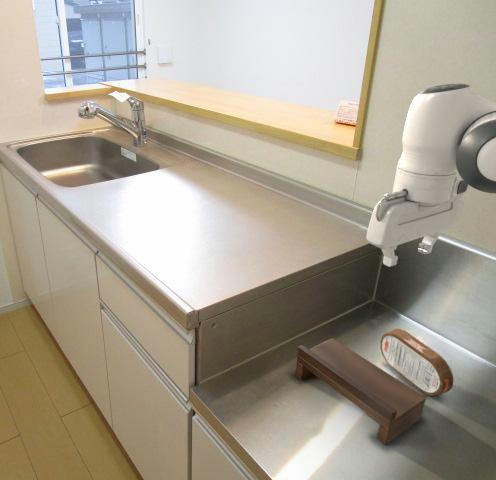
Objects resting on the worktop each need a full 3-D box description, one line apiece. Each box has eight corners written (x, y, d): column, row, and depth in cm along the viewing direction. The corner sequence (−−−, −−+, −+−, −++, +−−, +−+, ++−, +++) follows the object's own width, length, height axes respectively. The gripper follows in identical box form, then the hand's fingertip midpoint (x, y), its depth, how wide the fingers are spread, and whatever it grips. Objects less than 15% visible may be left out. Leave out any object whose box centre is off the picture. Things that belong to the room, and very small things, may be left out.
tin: (449, 402, 82) (460, 365, 79) (436, 407, 81) (447, 370, 78) (386, 353, 95) (393, 320, 92) (374, 357, 94) (381, 323, 91)
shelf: (329, 357, 94) (333, 329, 91) (420, 419, 79) (429, 388, 76) (294, 375, 89) (298, 346, 86) (384, 445, 74) (392, 413, 71)
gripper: (397, 201, 69) (382, 280, 75) (477, 180, 78) (458, 252, 83) (364, 190, 74) (352, 265, 80) (442, 172, 83) (426, 240, 88)
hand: (407, 258), depth 82 cm, fingers open, 8 cm apart
